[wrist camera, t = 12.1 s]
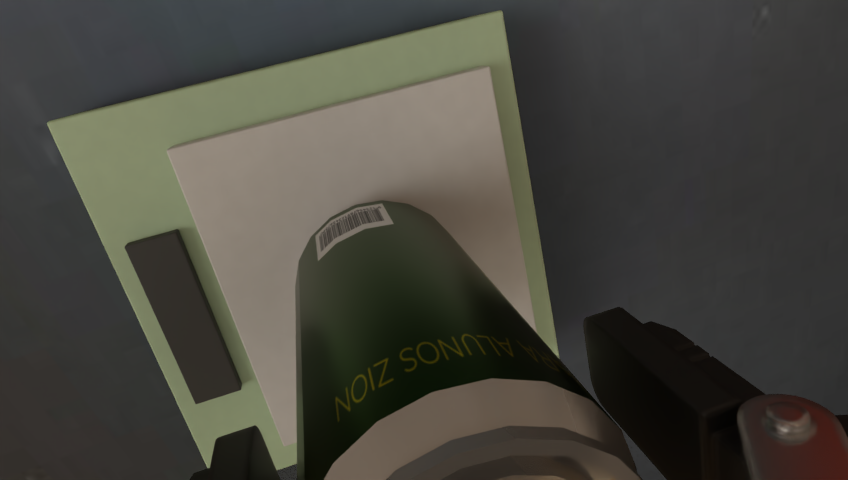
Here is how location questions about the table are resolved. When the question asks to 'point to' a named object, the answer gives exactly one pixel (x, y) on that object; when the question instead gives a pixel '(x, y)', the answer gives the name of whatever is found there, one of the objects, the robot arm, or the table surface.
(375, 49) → the scale
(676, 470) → the robot arm
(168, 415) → the table surface
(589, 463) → the guarana soda can
